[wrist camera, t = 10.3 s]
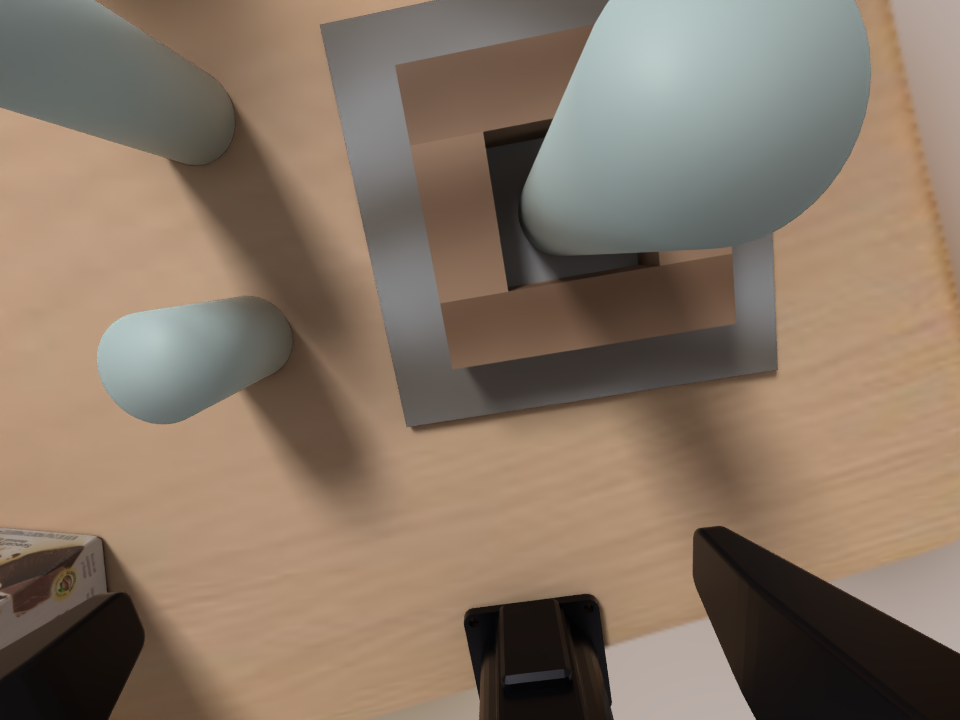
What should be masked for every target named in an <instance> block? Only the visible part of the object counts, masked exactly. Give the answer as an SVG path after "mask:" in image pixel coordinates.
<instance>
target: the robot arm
mask: <svg viewBox="0 0 960 720" xmlns="http://www.w3.org/2000/svg"><path fill="white" fill-rule="evenodd" d="M693 578H694V583H695V586H696V589H697V591H698V593H699V596H700V598H701V600H702V603H703V605H704V607H705V610H706V612H707V614H708V617H709V619H710V621H711V623H712V626H713V628H714V630H715V633H716V635H717V637H718V639H719V642H720V644H721V647H722V649H723V651H724V654H725V656H726V658H727V660H728V663H729V665H730V667H731V670H732V672H733V674H734V676H735V679H736V681H737V683H738V685H739V687H740V690H741V692H742V694H743V696H744V698H745V700H746V701H747V703H748V705H749V707H750V709H751V711H752V713H753V714H754V717H755V718H756V720H960V654H959V653H958V652H956V651H954V650H952V649H950V648H948V647H946V646H945V645H943V644H941V643H939V642H937V641H935V640H933V639H932V638H930V637H928V636H926V635H924V634H922V633H921V632H919V631H917V630H915V629H913V628H911V627H909V626H908V625H906V624H904V623H902V622H900V621H898V620H896V619H895V618H892V617H891V616H889V615H887V614H885V613H883V612H881V611H879V610H877V609H876V608H874V607H872V606H870V605H869V604H867V603H865V602H863V601H861V600H859V599H857V598H856V597H853V596H852V595H850V594H848V593H846V592H844V591H843V590H841V589H839V588H837V587H835V586H833V585H831V584H830V583H828V582H826V581H824V580H822V579H820V578H818V577H817V576H815V575H813V574H811V573H809V572H807V571H805V570H804V569H802V568H800V567H798V566H796V565H794V564H792V563H791V562H789V561H787V560H785V559H783V558H781V557H779V556H778V555H776V554H774V553H772V552H770V551H768V550H766V549H765V548H763V547H761V546H759V545H757V544H755V543H753V542H752V541H750V540H748V539H746V538H744V537H742V536H740V535H739V534H737V533H735V532H733V531H731V530H729V529H727V528H725V527H722V526H714V527H705V528H698V529H697V530H696V531H695V532H694V536H693ZM587 604H590V605H591V606H590V607H584V606H585V605H587ZM471 619H477V620H478V621H476V622H474V621H471ZM464 627H465V632H466V636H467V641H468V646H469V651H470V656H471V660H472V665H473V670H474V675H475V680H476V684H477V689H478V694H479V699H480V712H479V720H614V719H613V715H612V711H611V703H612V700H611V692H610V686H609V678H608V671H607V663H606V656H605V648H604V641H603V634H602V627H601V619H600V612H599V606H598V603H597V600H596V598H595V597H594V596H593V595H590V594H581V595H573V596H565V597H558V598H550V599H542V600H534V601H527V602H519V603H511V604H503V605H495V606H488V607H480V608H472V609H469V610H468V611H467V612H466V613H465V616H464ZM144 641H145V630H144V627H143V625H142V622H141V620H140V618H139V615H138V613H137V610H136V608H135V606H134V603H133V601H132V598H131V597H130V595H128V594H127V593H126V592H121V591H119V592H110V593H102V594H97V595H94V596H93V597H91V598H89V599H87V600H85V601H84V602H82V603H80V604H78V605H77V606H75V607H73V608H72V609H70V610H68V611H66V612H65V613H63V614H61V615H59V616H58V617H56V618H54V619H53V620H51V621H49V622H47V623H46V624H44V625H42V626H40V627H39V628H37V629H35V630H34V631H32V632H30V633H28V634H27V635H25V636H23V637H21V638H20V639H18V640H16V641H15V642H13V643H11V644H9V645H8V646H6V647H4V648H2V649H1V650H0V720H108V719H109V717H110V715H111V713H112V711H113V708H114V706H115V704H116V702H117V700H118V698H119V696H120V694H121V692H122V690H123V688H124V686H125V684H126V682H127V679H128V677H129V675H130V673H131V671H132V669H133V667H134V665H135V663H136V661H137V659H138V657H139V655H140V652H141V650H142V648H143V645H144Z"/></svg>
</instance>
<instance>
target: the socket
mask: <svg viewBox="0 0 960 720" xmlns="http://www.w3.org/2000/svg"><path fill="white" fill-rule="evenodd" d="M608 2H609V0H434V1H429V2H425V3H420V4H415V5H411V6H406V7H401V8H397V9H392V10H387V11H382V12H378V13H373V14H368V15H364V16H359V17H354V18H349V19H345V20H340V21H335V22H331V23H326V24H321V25H320V28H321V33H322V37H323V42H324V46H325V51H326V56H327V60H328V65H329V70H330V74H331V79H332V83H333V88H334V93H335V97H336V102H337V107H338V111H339V116H340V120H341V125H342V130H343V134H344V139H345V144H346V148H347V153H348V157H349V162H350V167H351V171H352V176H353V181H354V185H355V190H356V195H357V199H358V204H359V208H360V213H361V218H362V222H363V227H364V232H365V236H366V241H367V245H368V250H369V255H370V259H371V264H372V269H373V273H374V278H375V282H376V287H377V292H378V296H379V301H380V306H381V310H382V315H383V319H384V324H385V329H386V333H387V338H388V343H389V347H390V352H391V357H392V361H393V366H394V370H395V375H396V380H397V384H398V389H399V394H400V398H401V403H402V407H403V412H404V417H405V421H406V426H407V427H411V426H417V425H423V424H430V423H436V422H443V421H449V420H456V419H462V418H469V417H475V416H482V415H488V414H495V413H501V412H508V411H514V410H521V409H527V408H533V407H540V406H546V405H553V404H559V403H566V402H572V401H579V400H585V399H592V398H598V397H605V396H611V395H618V394H624V393H631V392H637V391H643V390H650V389H656V388H663V387H669V386H676V385H682V384H689V383H695V382H702V381H708V380H715V379H721V378H728V377H734V376H741V375H747V374H753V373H760V372H766V371H773V370H778V367H777V342H776V316H775V291H774V265H773V240H772V233H770V234H768V235H766V236H764V237H761V238H759V239H756V240H753V241H751V242H748V243H744V244H740V245H736V246H732V247H726V248H716V249H701V250H681V251H660V252H639V253H618V254H597V255H577V256H555V255H550V254H547V253H544V252H542V251H540V250H539V249H537V248H536V247H535V246H533V245H532V244H531V243H530V242H529V241H528V239H527V238H526V236H525V235H524V233H523V231H522V229H521V226H520V223H519V218H518V203H519V198H520V195H521V192H522V190H523V187H524V185H525V183H526V180H527V178H528V176H529V173H530V171H531V169H532V167H533V164H534V162H535V160H536V157H537V155H538V153H539V150H540V148H541V146H542V144H543V141H544V139H545V137H546V134H547V132H548V130H549V127H550V125H551V123H552V121H553V118H554V116H555V114H556V111H557V109H558V107H559V104H560V102H561V100H562V98H563V95H564V93H565V91H566V88H567V86H568V84H569V81H570V79H571V77H572V74H573V72H574V70H575V68H576V65H577V63H578V61H579V58H580V56H581V54H582V51H583V49H584V47H585V45H586V42H587V40H588V38H589V36H590V33H591V31H592V29H593V27H594V24H595V23H596V21H597V19H598V18H599V16H600V14H601V12H602V11H603V9H604V7H605V6H606V4H607V3H608Z"/></svg>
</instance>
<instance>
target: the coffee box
mask: <svg viewBox="0 0 960 720" xmlns="http://www.w3.org/2000/svg"><path fill="white" fill-rule="evenodd" d="M102 593H107V586H106V576H105V567H104V557H103V547H102V541H101V539H100V538H98V537H97V536H92V535H82V534H69V533H57V532H45V531H34V530H23V529H11V528H0V650H1V649H2V648H4V647H6V646H8V645H9V644H11V643H13V642H15V641H16V640H18V639H20V638H21V637H23V636H25V635H27V634H28V633H30V632H32V631H34V630H35V629H37V628H39V627H40V626H42V625H44V624H46V623H47V622H49V621H51V620H53V619H54V618H56V617H58V616H59V615H61V614H63V613H65V612H66V611H68V610H70V609H72V608H73V607H75V606H77V605H78V604H80V603H82V602H84V601H85V600H87V599H89V598H91V597H93V596H94V595H97V594H102Z"/></svg>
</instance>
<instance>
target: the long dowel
mask: <svg viewBox="0 0 960 720" xmlns="http://www.w3.org/2000/svg"><path fill="white" fill-rule="evenodd" d="M870 78H871V64H870V49H869V44H868V39H867V33H866V29H865V26H864V23H863V20H862V17H861V14H860V11H859V9H858V7H857V5H856V3H855V1H854V0H609V2H608V3H607V4H606V6H605V7H604V9H603V11H602V12H601V14H600V16H599V18H598V19H597V21H596V23H595V24H594V27H593V29H592V31H591V33H590V36H589V38H588V40H587V42H586V45H585V47H584V49H583V51H582V54H581V56H580V58H579V61H578V63H577V65H576V68H575V70H574V72H573V74H572V77H571V79H570V81H569V84H568V86H567V88H566V91H565V93H564V95H563V98H562V100H561V102H560V104H559V107H558V109H557V111H556V114H555V116H554V118H553V121H552V123H551V125H550V127H549V130H548V132H547V134H546V137H545V139H544V141H543V144H542V146H541V148H540V150H539V153H538V155H537V157H536V160H535V162H534V164H533V167H532V169H531V171H530V173H529V176H528V178H527V180H526V183H525V185H524V187H523V190H522V192H521V195H520V198H519V203H518V218H519V223H520V226H521V229H522V231H523V233H524V235H525V236H526V238H527V239H528V241H529V242H530V243H531V244H532V245H533V246H535V247H536V248H537V249H539V250H540V251H542V252H544V253H547V254H550V255H555V256H577V255H597V254H618V253H639V252H660V251H681V250H701V249H716V248H726V247H732V246H736V245H740V244H744V243H748V242H751V241H753V240H756V239H759V238H761V237H764V236H766V235H768V234H770V233H772V232H774V231H776V230H778V229H780V228H782V227H783V226H785V225H786V224H788V223H789V222H791V221H792V220H794V219H795V218H797V217H798V216H799V215H800V214H802V213H803V212H804V211H805V210H806V209H808V208H809V207H810V206H811V205H812V204H813V203H814V202H815V201H816V200H817V199H818V198H819V197H820V196H821V195H822V194H823V193H824V192H825V191H826V190H827V188H828V187H829V186H830V184H831V183H832V182H833V180H834V179H835V178H836V176H837V175H838V174H839V172H840V171H841V169H842V167H843V166H844V164H845V162H846V161H847V159H848V157H849V155H850V154H851V152H852V149H853V147H854V145H855V142H856V140H857V138H858V136H859V133H860V130H861V127H862V124H863V120H864V117H865V114H866V109H867V104H868V98H869V93H870Z"/></svg>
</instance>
